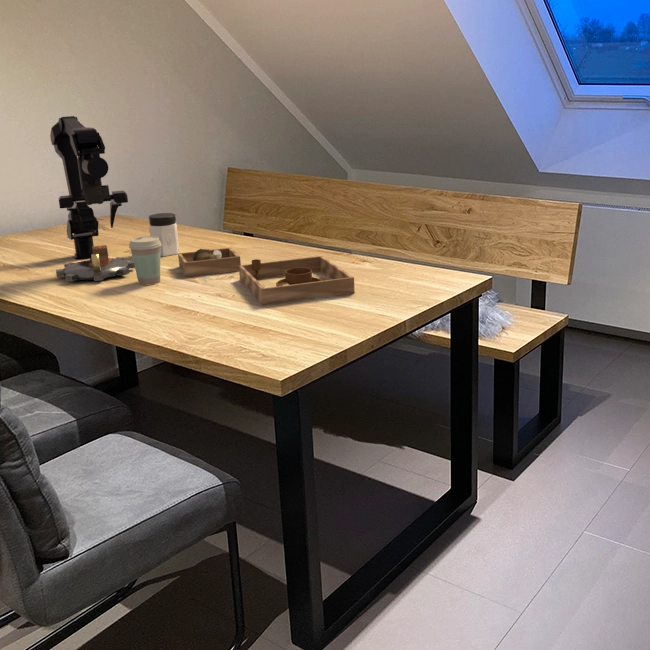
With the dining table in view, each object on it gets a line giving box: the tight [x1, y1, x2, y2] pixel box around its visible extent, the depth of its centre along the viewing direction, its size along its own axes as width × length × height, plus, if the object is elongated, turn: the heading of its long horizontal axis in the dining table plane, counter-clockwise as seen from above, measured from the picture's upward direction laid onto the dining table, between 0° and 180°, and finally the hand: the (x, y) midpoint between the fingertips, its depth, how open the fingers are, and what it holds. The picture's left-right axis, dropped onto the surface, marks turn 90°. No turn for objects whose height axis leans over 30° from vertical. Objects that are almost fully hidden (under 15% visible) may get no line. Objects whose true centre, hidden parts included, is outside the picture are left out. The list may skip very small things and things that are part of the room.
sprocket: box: [55, 254, 135, 282], centre depth 227 cm, size 22×22×6 cm
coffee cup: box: [128, 235, 161, 286], centre depth 216 cm, size 8×8×12 cm
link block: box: [92, 244, 110, 262], centre depth 232 cm, size 4×4×4 cm
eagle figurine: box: [193, 248, 222, 261], centre depth 227 cm, size 8×7×9 cm
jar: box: [148, 212, 180, 257], centre depth 248 cm, size 9×8×12 cm
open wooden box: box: [177, 247, 242, 278], centre depth 228 cm, size 13×16×4 cm
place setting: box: [251, 258, 327, 288], centre depth 210 cm, size 18×20×6 cm
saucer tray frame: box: [238, 255, 356, 306], centre depth 207 cm, size 26×24×4 cm
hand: (97, 229), depth 230 cm, fingers open, 8 cm apart
